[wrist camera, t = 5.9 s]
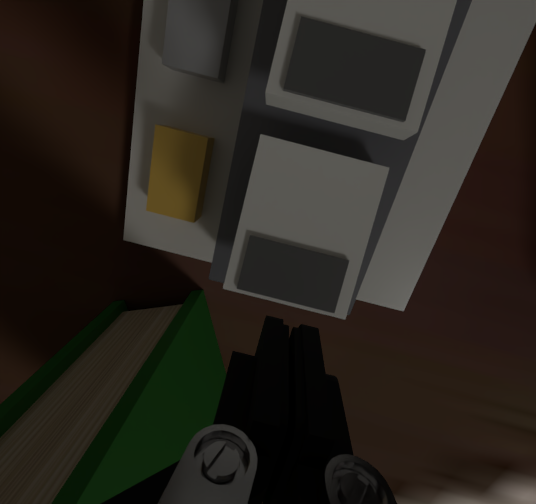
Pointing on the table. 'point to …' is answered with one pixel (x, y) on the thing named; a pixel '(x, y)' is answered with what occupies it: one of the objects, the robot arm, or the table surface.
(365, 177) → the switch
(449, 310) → the table surface
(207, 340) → the hardback book
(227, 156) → the panel
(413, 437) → the table surface
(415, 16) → the switch middle
